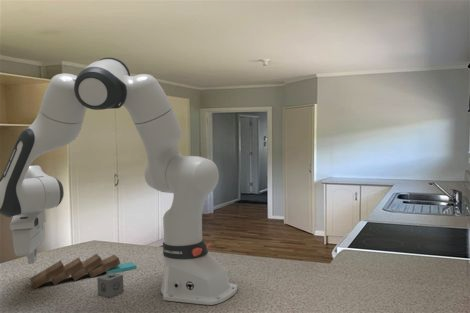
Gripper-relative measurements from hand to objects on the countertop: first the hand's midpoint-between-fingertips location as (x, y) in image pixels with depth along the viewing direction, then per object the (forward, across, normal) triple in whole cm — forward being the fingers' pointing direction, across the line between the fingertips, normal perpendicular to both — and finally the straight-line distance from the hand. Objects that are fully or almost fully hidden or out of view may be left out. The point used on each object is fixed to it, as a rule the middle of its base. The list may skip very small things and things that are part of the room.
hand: (32, 262), depth 126 cm
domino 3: (+7, -3, +10) cm, 13 cm away
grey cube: (+8, +13, +24) cm, 28 cm away
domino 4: (+7, -5, +15) cm, 18 cm away
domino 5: (+8, -7, +20) cm, 23 cm away
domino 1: (+7, 0, 0) cm, 7 cm away
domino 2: (+7, -2, +5) cm, 8 cm away
